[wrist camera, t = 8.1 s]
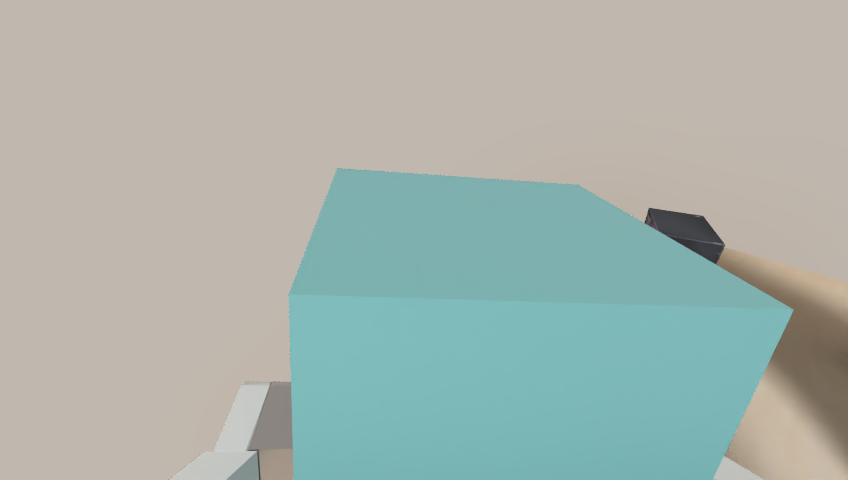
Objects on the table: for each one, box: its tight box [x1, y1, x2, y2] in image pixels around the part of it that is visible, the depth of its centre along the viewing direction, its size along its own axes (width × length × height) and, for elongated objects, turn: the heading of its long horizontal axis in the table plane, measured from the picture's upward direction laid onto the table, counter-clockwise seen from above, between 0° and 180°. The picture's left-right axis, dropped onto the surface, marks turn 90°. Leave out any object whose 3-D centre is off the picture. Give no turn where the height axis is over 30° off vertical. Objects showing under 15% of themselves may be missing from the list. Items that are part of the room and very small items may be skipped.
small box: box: [645, 208, 725, 265], centre depth 49 cm, size 11×6×10 cm, turn 158°
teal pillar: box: [289, 168, 794, 480], centre depth 8 cm, size 5×5×10 cm
